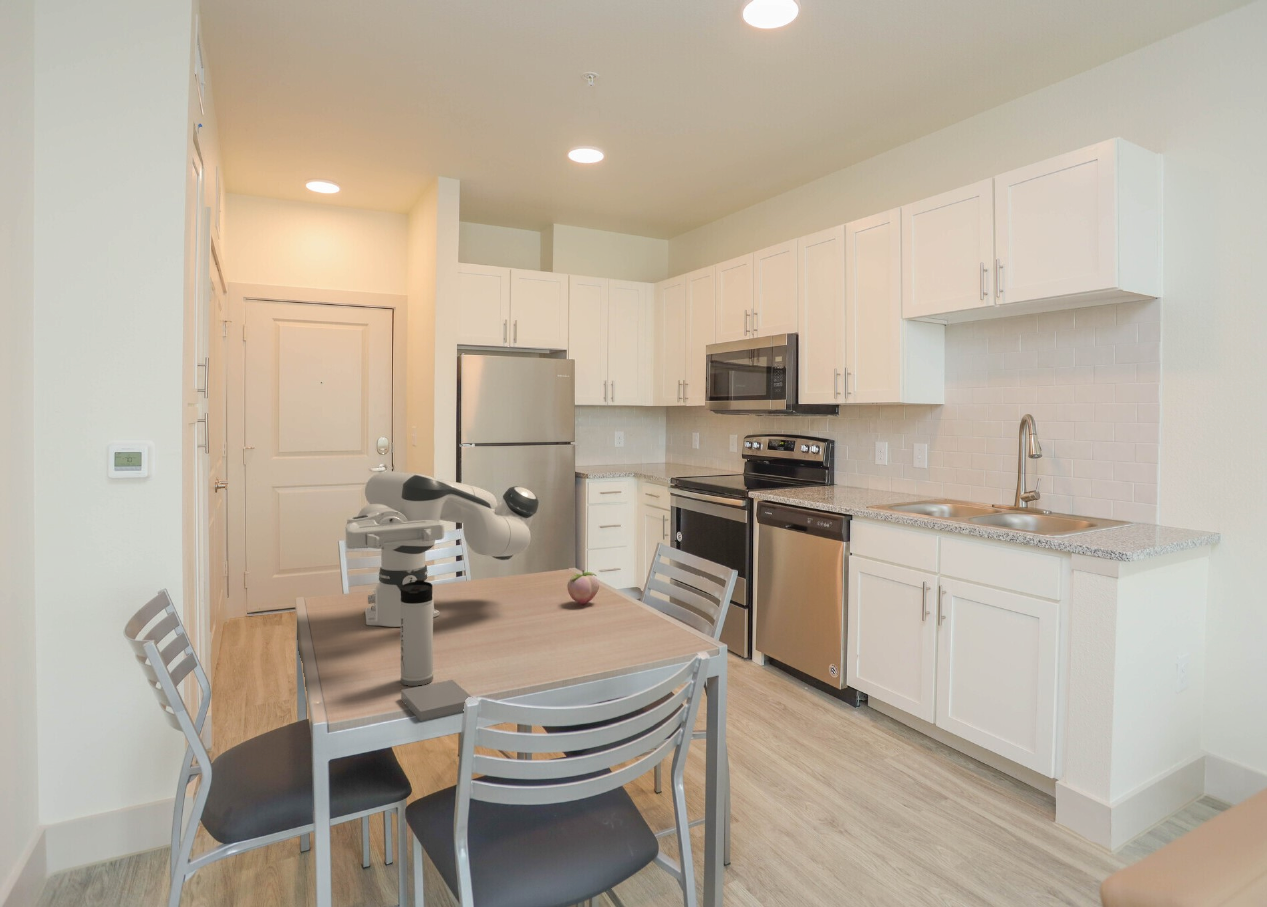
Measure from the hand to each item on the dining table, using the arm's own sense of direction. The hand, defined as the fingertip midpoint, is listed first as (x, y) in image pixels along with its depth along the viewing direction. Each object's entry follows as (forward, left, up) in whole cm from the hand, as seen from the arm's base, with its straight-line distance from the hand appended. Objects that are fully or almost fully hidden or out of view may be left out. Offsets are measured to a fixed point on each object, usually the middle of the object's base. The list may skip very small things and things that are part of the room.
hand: (404, 539), depth 148 cm
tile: (+13, +1, -27) cm, 30 cm away
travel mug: (+5, +1, -28) cm, 29 cm away
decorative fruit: (-31, +59, -28) cm, 72 cm away
